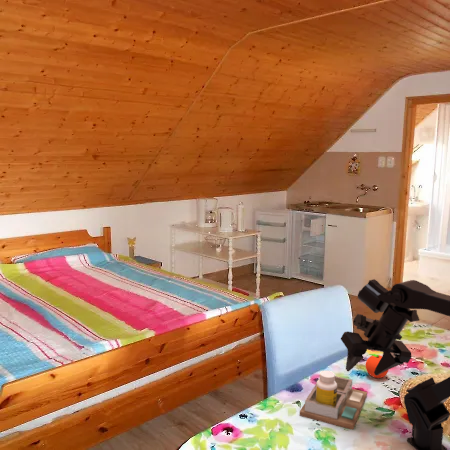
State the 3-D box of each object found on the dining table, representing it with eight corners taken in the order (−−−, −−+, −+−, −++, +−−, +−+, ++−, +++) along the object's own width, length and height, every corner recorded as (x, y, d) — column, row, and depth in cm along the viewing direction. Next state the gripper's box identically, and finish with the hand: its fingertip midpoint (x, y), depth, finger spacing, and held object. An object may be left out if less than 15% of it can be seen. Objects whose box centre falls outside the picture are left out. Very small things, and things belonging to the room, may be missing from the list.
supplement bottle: (336, 414, 124) (338, 379, 122) (315, 412, 125) (316, 377, 123) (335, 404, 129) (337, 370, 128) (315, 401, 130) (316, 368, 129)
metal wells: (337, 419, 122) (337, 409, 121) (304, 411, 125) (305, 400, 125) (351, 389, 137) (352, 379, 137) (322, 382, 141) (322, 373, 140)
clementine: (357, 374, 149) (358, 353, 148) (370, 368, 153) (371, 347, 152) (380, 384, 143) (381, 362, 142) (392, 377, 147) (394, 355, 146)
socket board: (353, 429, 119) (353, 423, 119) (299, 415, 126) (299, 409, 125) (366, 396, 136) (367, 390, 136) (318, 385, 142) (319, 379, 142)
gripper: (401, 311, 128) (373, 355, 134) (345, 299, 121) (318, 346, 127) (425, 338, 119) (395, 384, 124) (366, 327, 112) (337, 376, 117)
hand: (361, 372), depth 123 cm, fingers open, 9 cm apart
